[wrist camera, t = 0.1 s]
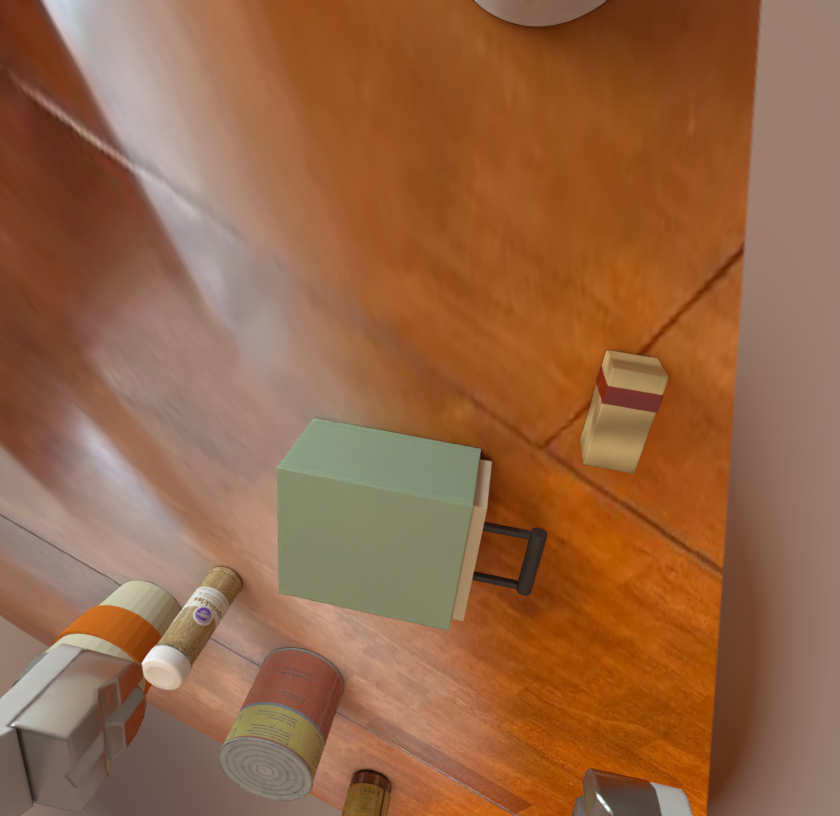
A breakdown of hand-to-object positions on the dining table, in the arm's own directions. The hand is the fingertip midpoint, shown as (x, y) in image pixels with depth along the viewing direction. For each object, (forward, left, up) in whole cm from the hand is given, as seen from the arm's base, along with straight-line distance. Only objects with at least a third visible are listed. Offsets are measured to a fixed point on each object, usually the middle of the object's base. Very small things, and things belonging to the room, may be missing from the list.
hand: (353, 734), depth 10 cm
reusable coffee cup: (+50, -36, -39) cm, 73 cm away
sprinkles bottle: (+42, -25, -39) cm, 62 cm away
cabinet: (+24, -6, -39) cm, 46 cm away
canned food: (+57, -15, -39) cm, 71 cm away
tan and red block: (+10, +13, -39) cm, 42 cm away
